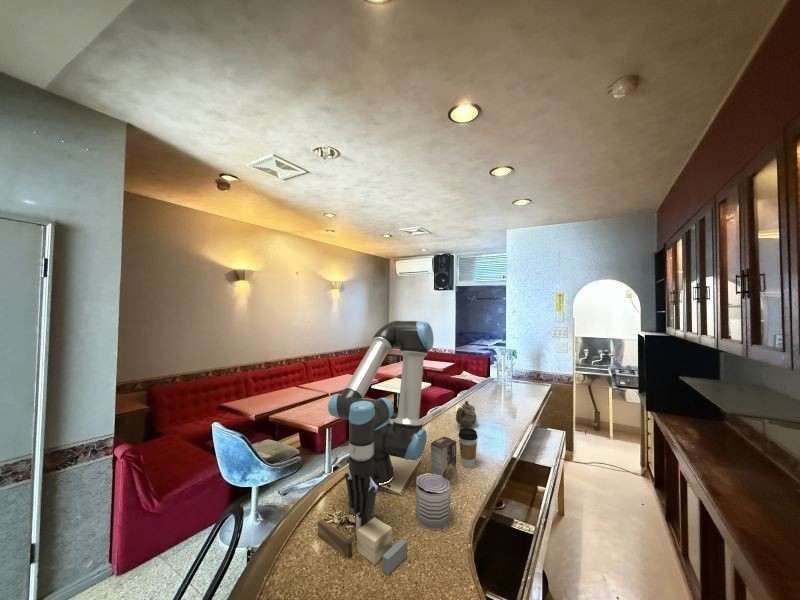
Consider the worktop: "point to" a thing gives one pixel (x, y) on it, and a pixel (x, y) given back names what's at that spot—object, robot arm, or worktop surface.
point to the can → (432, 501)
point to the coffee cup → (468, 446)
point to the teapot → (466, 415)
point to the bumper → (394, 556)
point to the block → (374, 540)
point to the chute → (339, 539)
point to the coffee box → (444, 459)
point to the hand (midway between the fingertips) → (360, 535)
